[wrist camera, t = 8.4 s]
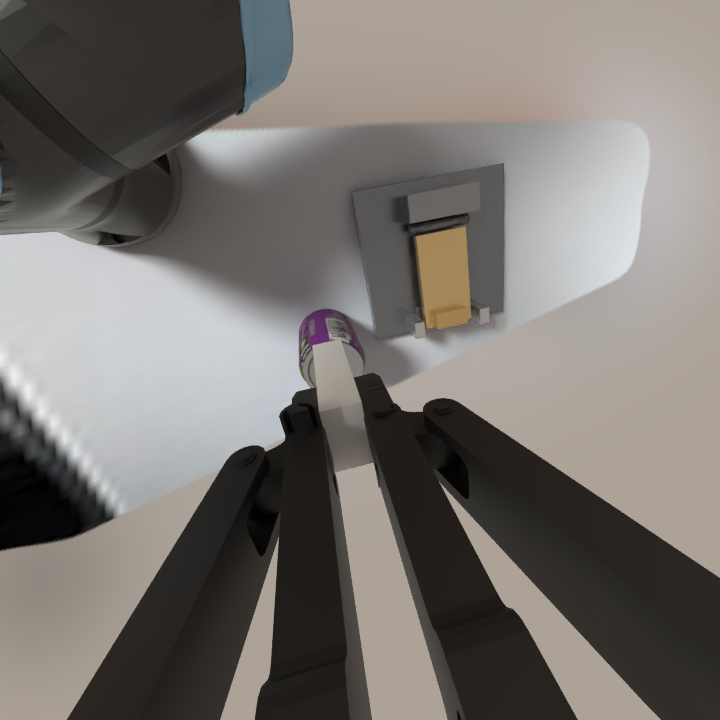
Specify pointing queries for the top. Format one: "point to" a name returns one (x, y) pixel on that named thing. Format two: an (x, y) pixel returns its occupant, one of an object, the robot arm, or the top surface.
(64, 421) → the top surface
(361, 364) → the beverage can
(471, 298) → the clamp base
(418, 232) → the tan flat panel
